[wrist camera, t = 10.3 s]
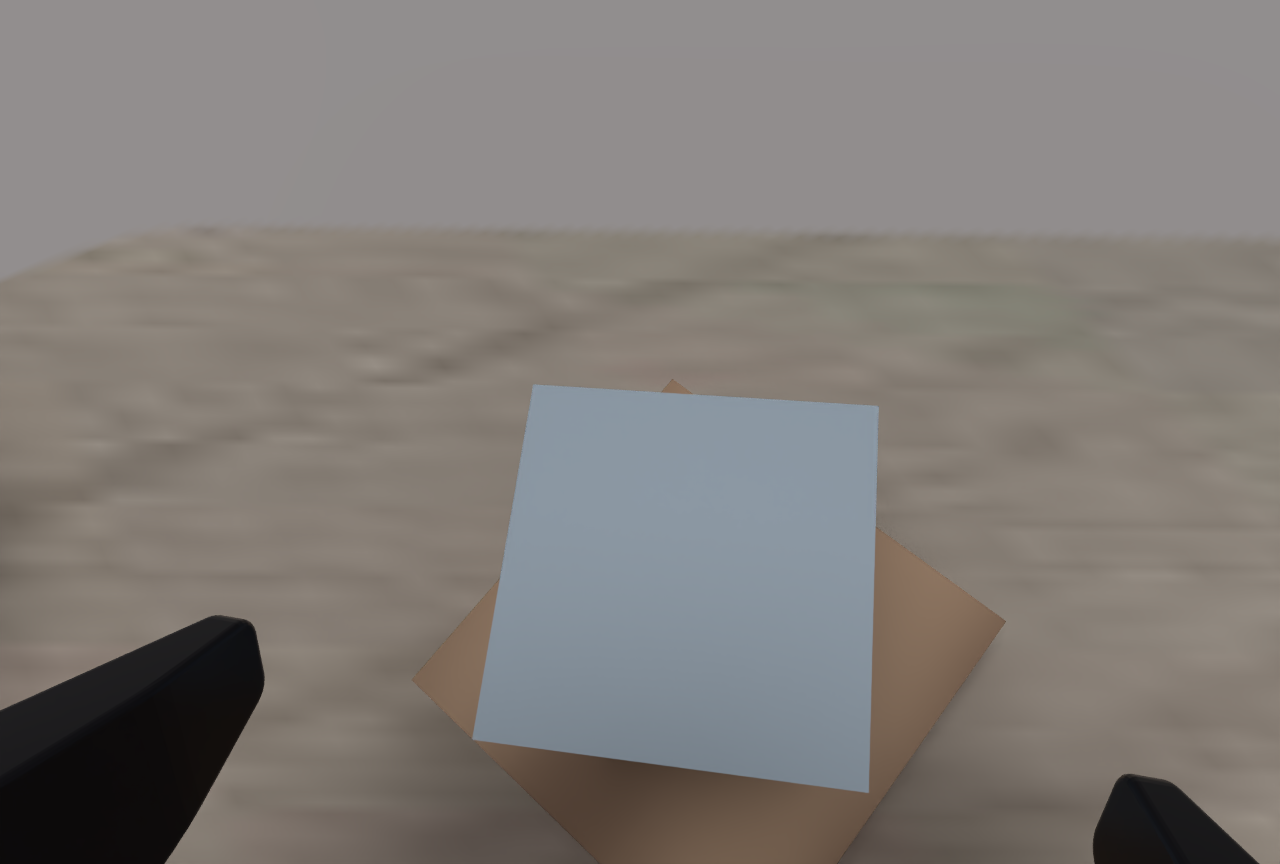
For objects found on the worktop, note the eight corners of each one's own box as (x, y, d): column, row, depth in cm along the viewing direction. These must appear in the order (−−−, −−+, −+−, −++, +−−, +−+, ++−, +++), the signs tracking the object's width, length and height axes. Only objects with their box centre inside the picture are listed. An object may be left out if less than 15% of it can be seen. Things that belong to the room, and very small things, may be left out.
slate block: (824, 541, 20) (878, 406, 11) (814, 762, 18) (868, 793, 10) (621, 523, 21) (533, 384, 12) (594, 733, 19) (472, 739, 11)
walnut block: (969, 635, 22) (1006, 621, 19) (738, 961, 20) (740, 1001, 17) (678, 418, 25) (672, 379, 22) (450, 685, 23) (411, 679, 20)
